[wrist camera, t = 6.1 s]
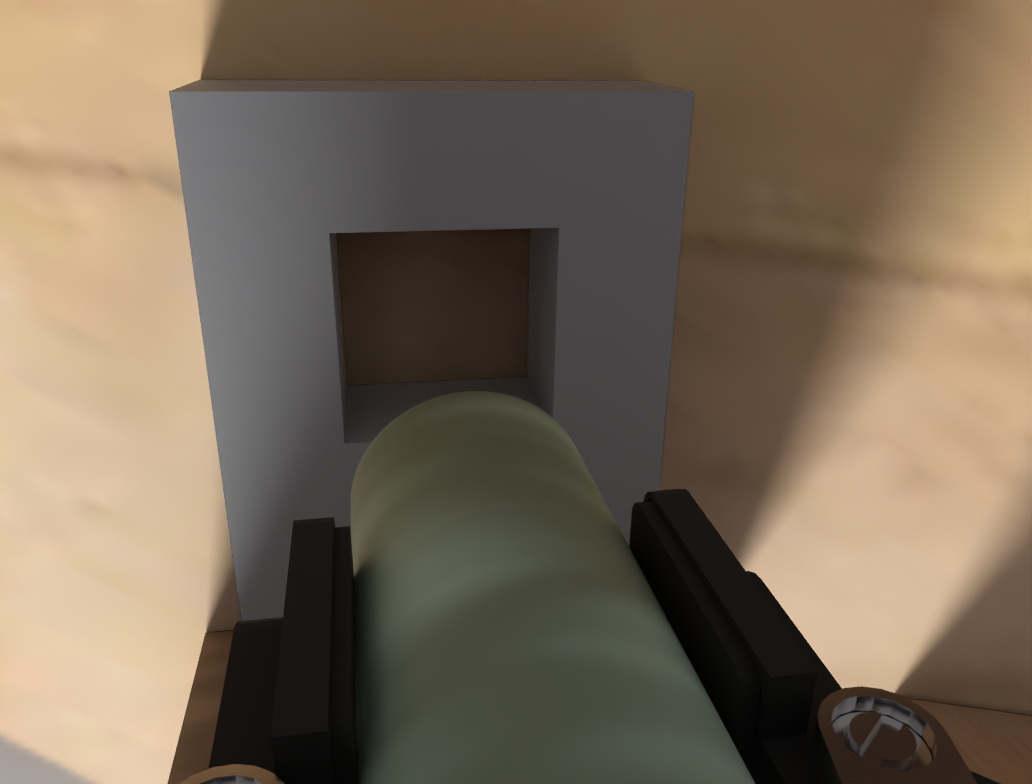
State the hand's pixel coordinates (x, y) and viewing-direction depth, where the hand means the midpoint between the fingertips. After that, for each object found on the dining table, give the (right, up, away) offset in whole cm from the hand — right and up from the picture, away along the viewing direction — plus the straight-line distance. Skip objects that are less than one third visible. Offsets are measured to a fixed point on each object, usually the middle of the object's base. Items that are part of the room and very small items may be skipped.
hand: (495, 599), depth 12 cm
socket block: (-2, +4, +14) cm, 15 cm away
